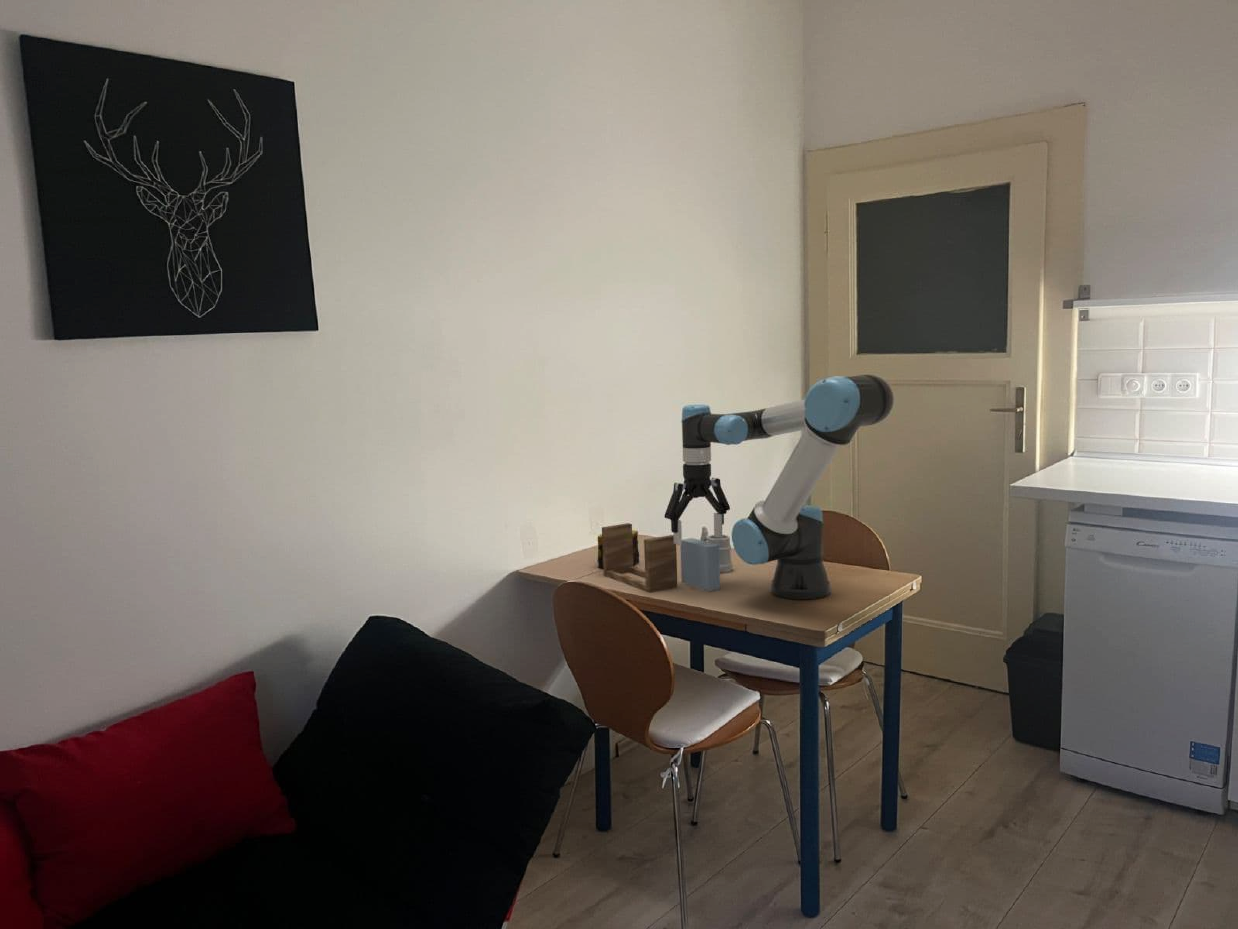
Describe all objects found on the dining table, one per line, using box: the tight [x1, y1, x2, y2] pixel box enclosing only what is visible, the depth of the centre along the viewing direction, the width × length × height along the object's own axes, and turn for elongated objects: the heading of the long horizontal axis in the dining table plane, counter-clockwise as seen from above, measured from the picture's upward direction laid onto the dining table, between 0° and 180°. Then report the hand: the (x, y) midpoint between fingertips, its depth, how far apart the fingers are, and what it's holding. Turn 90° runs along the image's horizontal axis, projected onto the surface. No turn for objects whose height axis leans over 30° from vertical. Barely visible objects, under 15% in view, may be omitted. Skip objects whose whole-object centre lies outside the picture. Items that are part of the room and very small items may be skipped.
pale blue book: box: [679, 537, 721, 592], centre depth 249 cm, size 12×4×12 cm, turn 32°
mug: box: [699, 526, 734, 574], centre depth 267 cm, size 8×12×12 cm, turn 38°
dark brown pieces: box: [597, 530, 640, 570], centre depth 276 cm, size 10×10×10 cm
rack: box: [601, 523, 679, 593], centre depth 257 cm, size 24×9×14 cm, turn 32°
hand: (698, 540), depth 249 cm, fingers open, 13 cm apart
